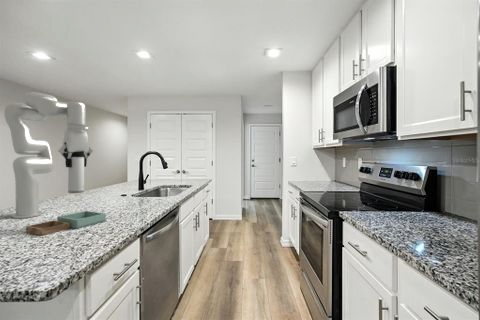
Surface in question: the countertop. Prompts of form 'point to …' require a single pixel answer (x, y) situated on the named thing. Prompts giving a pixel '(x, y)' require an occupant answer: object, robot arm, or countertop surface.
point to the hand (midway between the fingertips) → (76, 166)
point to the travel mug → (76, 173)
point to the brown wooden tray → (53, 227)
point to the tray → (83, 219)
